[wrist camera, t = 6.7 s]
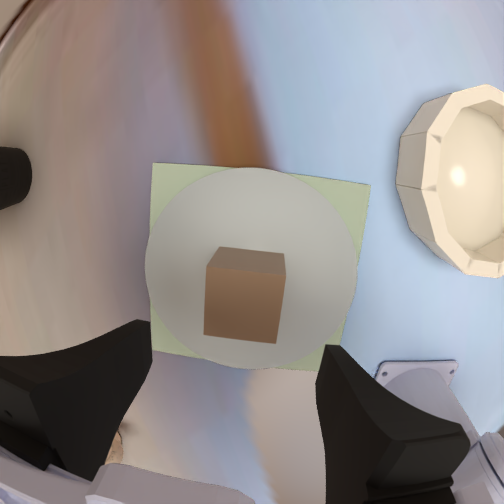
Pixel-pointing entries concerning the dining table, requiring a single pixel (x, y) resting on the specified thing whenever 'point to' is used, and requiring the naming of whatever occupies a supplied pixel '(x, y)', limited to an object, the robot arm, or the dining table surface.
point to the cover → (251, 268)
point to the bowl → (457, 179)
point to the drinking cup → (13, 176)
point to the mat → (335, 191)
